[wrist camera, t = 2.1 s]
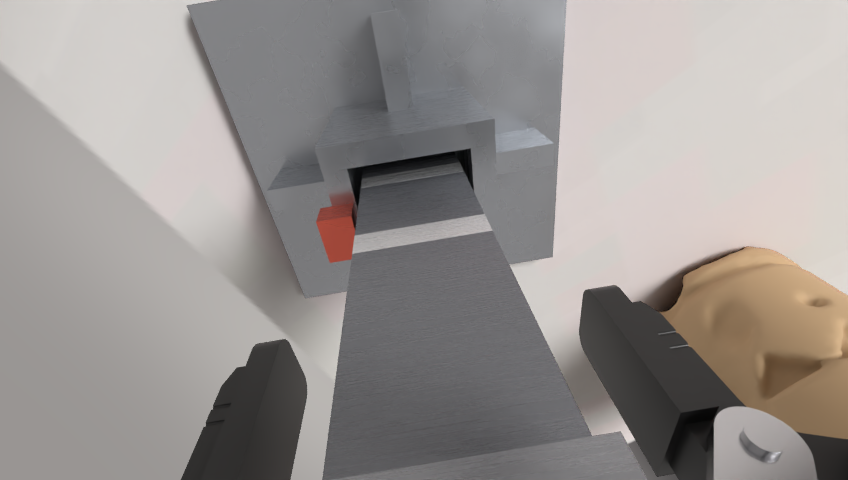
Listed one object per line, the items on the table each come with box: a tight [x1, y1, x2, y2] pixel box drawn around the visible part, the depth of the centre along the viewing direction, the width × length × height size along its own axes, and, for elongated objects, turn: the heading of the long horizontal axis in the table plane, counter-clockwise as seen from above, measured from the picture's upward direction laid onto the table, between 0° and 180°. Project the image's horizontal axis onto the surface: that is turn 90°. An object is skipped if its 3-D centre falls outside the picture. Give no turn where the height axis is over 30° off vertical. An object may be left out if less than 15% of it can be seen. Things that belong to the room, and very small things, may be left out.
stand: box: [187, 0, 566, 298], centre depth 19 cm, size 18×18×9 cm
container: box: [659, 246, 848, 439], centre depth 25 cm, size 13×13×18 cm
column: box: [322, 151, 647, 480], centre depth 13 cm, size 6×4×20 cm, turn 8°
